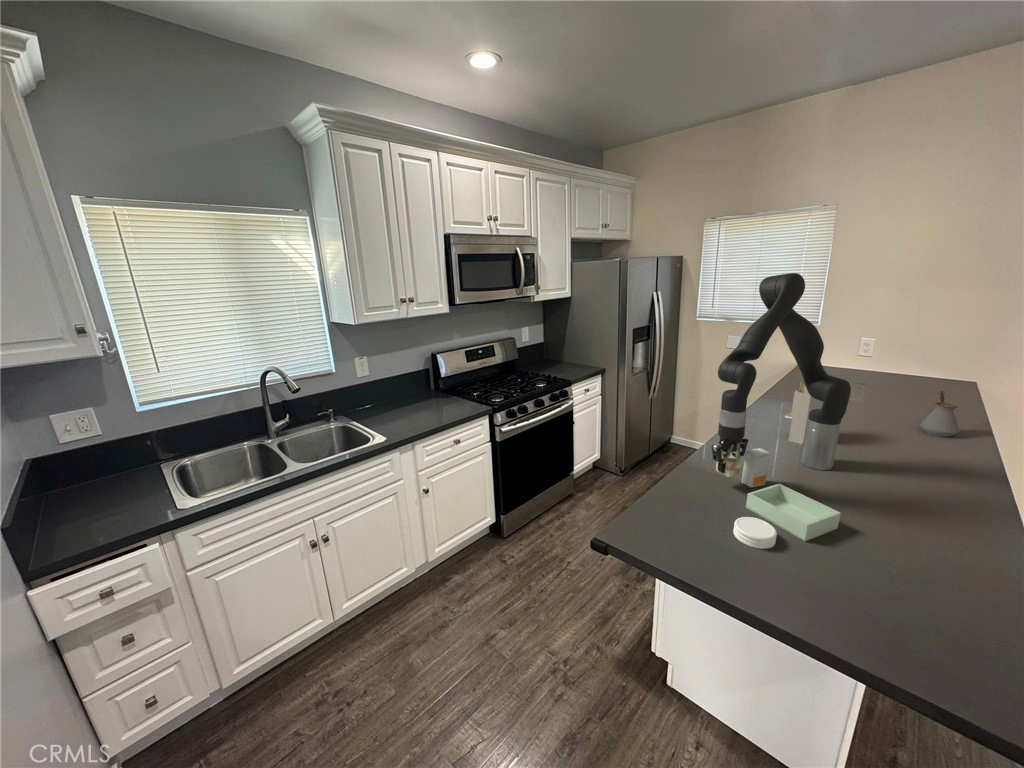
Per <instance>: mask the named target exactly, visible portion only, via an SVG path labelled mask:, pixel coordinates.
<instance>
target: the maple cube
mask: <svg viewBox="0 0 1024 768" xmlns="http://www.w3.org/2000/svg"><path fill="white" fill-rule="evenodd" d="M723 457H724V456H723V455H722V459H723ZM715 463H716V464H715V471H716V472H718V473H719V474H721V475H724V476H726V477H727V478H730V477H732V476H736V475H739V474H740V473H741V472H740V471H741V466H742V465H741V463H742V459H741V458H740V459H738V458H736V457H734V456H731V454H730V456H729V457H727V460H726V467H725V473H721V472H719V471H718V462H717V461H715Z"/></svg>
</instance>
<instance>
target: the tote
mask: <svg viewBox="0 0 1024 768" xmlns="http://www.w3.org/2000/svg"><path fill="white" fill-rule="evenodd" d="M745 509H747V510H749V511H750V512H752V513H754V514H756V515H757V516H759V517H761V518H763V520H766V521H768V523H771V524H773V525H775V526H777V527H778V528H780V529H781V530H784V531H786V532H787V533H789V534H790V535H792V536H794V537H795V538H797V539H799V540H800V541H803V542H807V541H810V540H812V539H815V538H817V537H820V536H822V535H825V534H827V533H830V532H832V531H835V530H837V529H838V528H839V523H840V519H841V514H842V513H841V512H840V511H838V510H836V509H834V508H832V507H830V506H827V505H826V504H824V503H821V502H819V501H817V500H815V499H813V498H811V497H808V496H806V495H804V494H802V493H800V492H798V491H796V490H793V489H791V488H790V487H787V486H786V485H783V484H781V483H777V484H773V485H770V486H767V487H763V488H760V489H758V490H755V491H751V492H749V493H747V495H746V504H745Z"/></svg>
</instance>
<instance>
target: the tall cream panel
mask: <svg viewBox="0 0 1024 768" xmlns="http://www.w3.org/2000/svg"><path fill="white" fill-rule="evenodd" d="M817 403H818V400H817V399H815V398H813V397H812V396H811V395H810V394H809V393H808V391H807V388H806V385H805V383H803V381H802V380H801V381H800V385H799V389H798V390H797V389H795V390H794V394H793V398H792V407H791V410H790V411H789V412H787V413H786V414H785V415H784V418H786V419H791V423H790V428H789V429H790V430H789V436H788V442H792V443H797V444H799V445H804V441H805V435H806V429H807V423H808V417H809V412H810V411H811V410H814V409H817Z"/></svg>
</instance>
